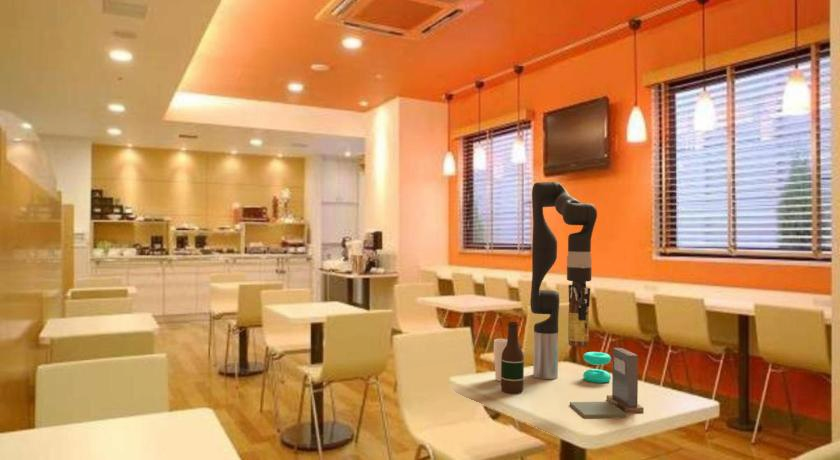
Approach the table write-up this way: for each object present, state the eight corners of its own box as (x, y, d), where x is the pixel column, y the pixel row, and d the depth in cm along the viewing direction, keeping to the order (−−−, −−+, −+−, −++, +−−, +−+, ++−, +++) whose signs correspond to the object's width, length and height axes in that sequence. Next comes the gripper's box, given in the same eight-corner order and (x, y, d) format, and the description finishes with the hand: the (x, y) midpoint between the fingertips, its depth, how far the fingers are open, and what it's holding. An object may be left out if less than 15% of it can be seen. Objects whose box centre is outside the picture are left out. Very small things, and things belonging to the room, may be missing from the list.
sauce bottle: (588, 348, 182) (589, 284, 183) (568, 347, 184) (569, 283, 184) (587, 344, 189) (588, 282, 189) (567, 343, 190) (568, 282, 190)
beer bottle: (509, 386, 211) (510, 319, 211) (528, 391, 205) (528, 322, 205) (496, 390, 205) (497, 322, 205) (514, 395, 200) (515, 324, 200)
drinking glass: (512, 382, 217) (513, 342, 217) (494, 382, 217) (494, 341, 217) (510, 378, 224) (510, 338, 224) (492, 377, 224) (492, 338, 224)
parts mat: (569, 405, 189) (569, 402, 189) (608, 404, 190) (608, 401, 190) (584, 417, 176) (584, 414, 176) (626, 417, 177) (626, 414, 177)
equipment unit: (606, 399, 196) (607, 347, 196) (623, 399, 196) (624, 347, 196) (624, 412, 182) (625, 356, 182) (643, 412, 182) (644, 356, 182)
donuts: (609, 352, 226) (612, 357, 216) (609, 378, 226) (611, 384, 216) (582, 350, 228) (584, 355, 219) (582, 376, 228) (583, 382, 219)
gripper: (560, 264, 194) (560, 316, 193) (574, 266, 179) (574, 321, 179) (583, 265, 194) (582, 316, 194) (599, 267, 180) (598, 322, 180)
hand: (578, 318), depth 187 cm, fingers closed on sauce bottle, 6 cm apart
